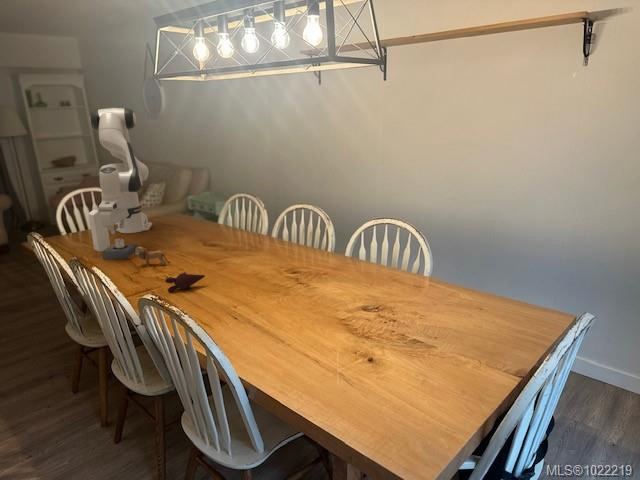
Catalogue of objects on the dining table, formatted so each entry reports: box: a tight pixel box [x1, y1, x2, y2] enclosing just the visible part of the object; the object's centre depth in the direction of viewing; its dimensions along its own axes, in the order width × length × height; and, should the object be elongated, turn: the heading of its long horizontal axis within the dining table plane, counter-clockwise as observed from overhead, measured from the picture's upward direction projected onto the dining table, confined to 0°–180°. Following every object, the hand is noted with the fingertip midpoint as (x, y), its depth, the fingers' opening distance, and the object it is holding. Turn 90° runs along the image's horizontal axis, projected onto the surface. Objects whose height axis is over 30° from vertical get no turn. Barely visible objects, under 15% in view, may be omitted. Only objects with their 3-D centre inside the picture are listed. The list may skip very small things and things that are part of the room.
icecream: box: [164, 271, 206, 293], centre depth 178 cm, size 7×7×15 cm
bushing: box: [114, 237, 125, 249], centre depth 221 cm, size 4×4×8 cm
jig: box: [101, 243, 139, 260], centre depth 221 cm, size 12×13×4 cm
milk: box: [87, 206, 111, 253], centre depth 228 cm, size 6×6×22 cm
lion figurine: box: [135, 246, 172, 267], centre depth 206 cm, size 15×5×9 cm, turn 98°
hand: (117, 230), depth 219 cm, fingers open, 8 cm apart
